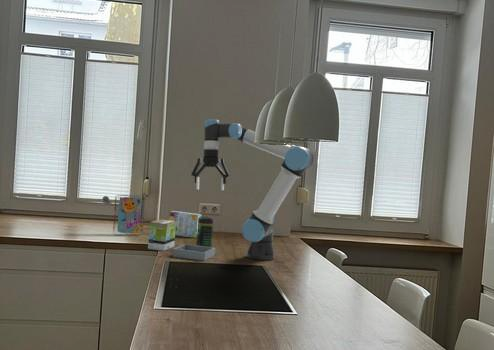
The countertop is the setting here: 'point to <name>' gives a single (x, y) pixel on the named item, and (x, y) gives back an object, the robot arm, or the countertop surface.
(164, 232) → the tea box
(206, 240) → the coffee jar
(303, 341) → the countertop surface
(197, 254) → the tray
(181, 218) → the snack box
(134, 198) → the box
